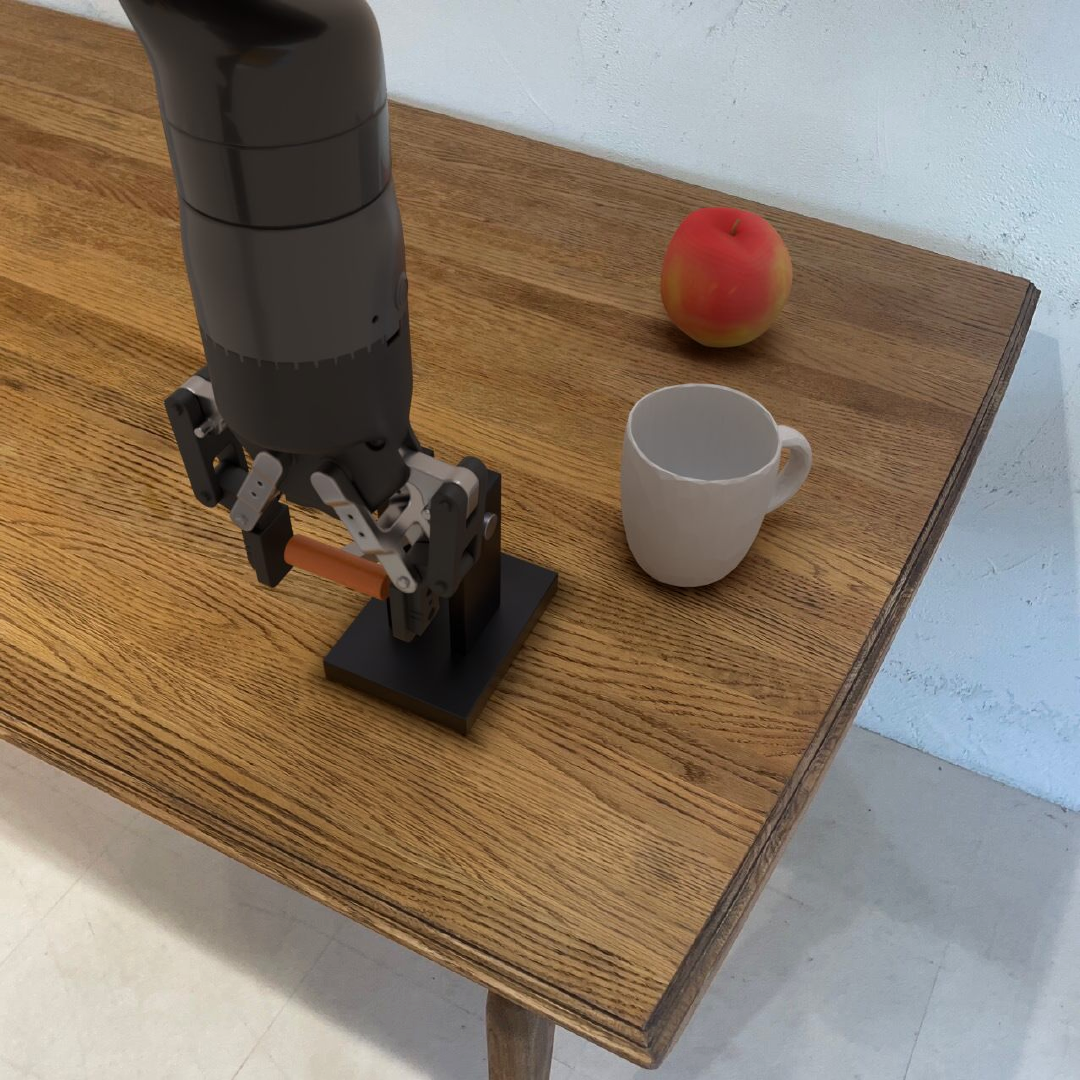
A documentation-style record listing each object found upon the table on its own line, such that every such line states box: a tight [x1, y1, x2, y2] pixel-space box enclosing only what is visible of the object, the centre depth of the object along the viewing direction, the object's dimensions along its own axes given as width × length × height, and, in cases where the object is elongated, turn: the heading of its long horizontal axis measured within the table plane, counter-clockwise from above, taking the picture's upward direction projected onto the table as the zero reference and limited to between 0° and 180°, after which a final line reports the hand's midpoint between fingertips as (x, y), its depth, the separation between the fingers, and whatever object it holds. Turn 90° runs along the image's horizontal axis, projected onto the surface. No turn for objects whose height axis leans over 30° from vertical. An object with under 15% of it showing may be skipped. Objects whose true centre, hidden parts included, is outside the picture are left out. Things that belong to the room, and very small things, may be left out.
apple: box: [659, 206, 794, 348], centre depth 85 cm, size 10×10×10 cm
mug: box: [619, 382, 813, 588], centre depth 69 cm, size 13×9×10 cm
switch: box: [284, 520, 430, 600], centre depth 56 cm, size 12×5×2 cm, turn 155°
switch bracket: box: [322, 445, 559, 736], centre depth 63 cm, size 12×9×12 cm
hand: (344, 599), depth 53 cm, fingers open, 6 cm apart
